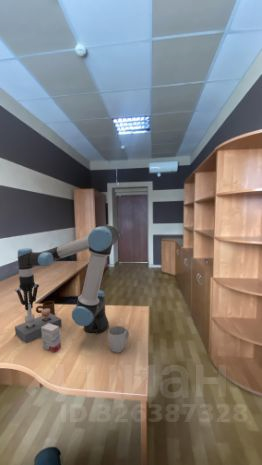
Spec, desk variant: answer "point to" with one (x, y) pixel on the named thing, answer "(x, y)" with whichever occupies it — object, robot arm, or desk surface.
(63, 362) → the desk surface
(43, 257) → the robot arm
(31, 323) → the grey plug
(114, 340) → the mug
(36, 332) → the panel
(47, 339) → the ink box
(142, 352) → the desk surface
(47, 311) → the terracotta plug
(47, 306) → the mug
